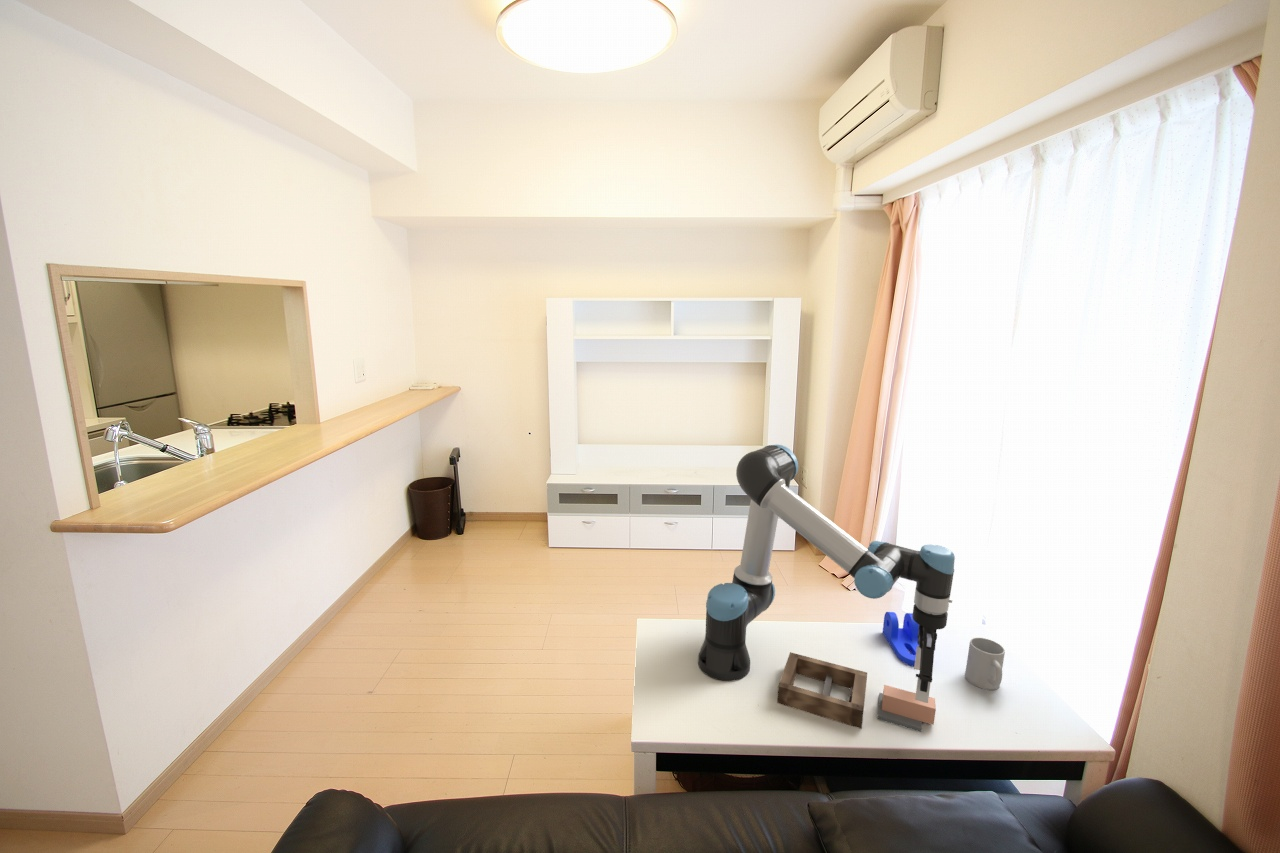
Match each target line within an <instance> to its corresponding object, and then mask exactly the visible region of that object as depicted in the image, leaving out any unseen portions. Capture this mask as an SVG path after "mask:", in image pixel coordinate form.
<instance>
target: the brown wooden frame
mask: <svg viewBox="0 0 1280 853" xmlns="http://www.w3.org/2000/svg"><path fill="white" fill-rule="evenodd" d="M797 675H799V676H803V677H807V678H811V679H814V680H817V681H821V682H824V685H823V690H822V693H820V692H816V691H814V690H813V691H812V690H810V689H805V688H803V687H799V686H795V685H794V682H795V680H796V676H797ZM867 679H868V671H867V672H866V671H863V670H859V669H855V668H851V667H848V666H843V665H842V664H841V665H840V664H835V663H834V662H833V663H832V662H829V661H824V660H821V659H817V658H815V657H814V658H813V657H810V656H807V655H802V654H800V653H794V652H792V651H790V652H789V654H788V657H787V660H786V663H785V665H784V668H783V672H782V674H781V678H780V681H779V683H778V687H777V700H776V703H777V704H779V705H782V706H787V707H789V708H793V709H796V710H799V711H802V712H805V713H808V714H811V715H815V716H819V717H822V718H825V719H828V720H832V721H835V722H838V723H841V724H845V725H848V726H851V727H855V728H858V729H861V730H862V729H863V720H864V709H865V701H866V700H865V699H866V691H867ZM833 685H834V686H835V685H836V686H838V687H842V688H846V689H850V690H849V695H848V696H849V697H848V698H849V699H848V700H843V699H840V698H836V697H833V696H831V690H832V686H833Z"/></svg>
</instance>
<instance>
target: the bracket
mask: <svg viewBox="0 0 1280 853" xmlns="http://www.w3.org/2000/svg"><path fill="white" fill-rule="evenodd" d="M912 615H913V612H906V613H905V614H904V616H903V625H902V628H901V627H899V626H900V624H899V619H898V615H897V613H896V612H894V611H886V612H885V613H884V616H883V624H882V626H883V627H882V634H883V636H884V637H885V640H887V643H888V644H889V645H890V647H891V649H892V651H893V652H894V653H895V655H896V657H897V658H898V659H899V661H900V662H902V663H904V664H905V665H908V666H910V667H914V666H915V658H916V650H917V645H918V643H917V641H918V637H917V635H918V632H919V631H918V628H919V624H917V623H916V622H915V621H914V620H913V617H912ZM918 646H919V645H918Z"/></svg>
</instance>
